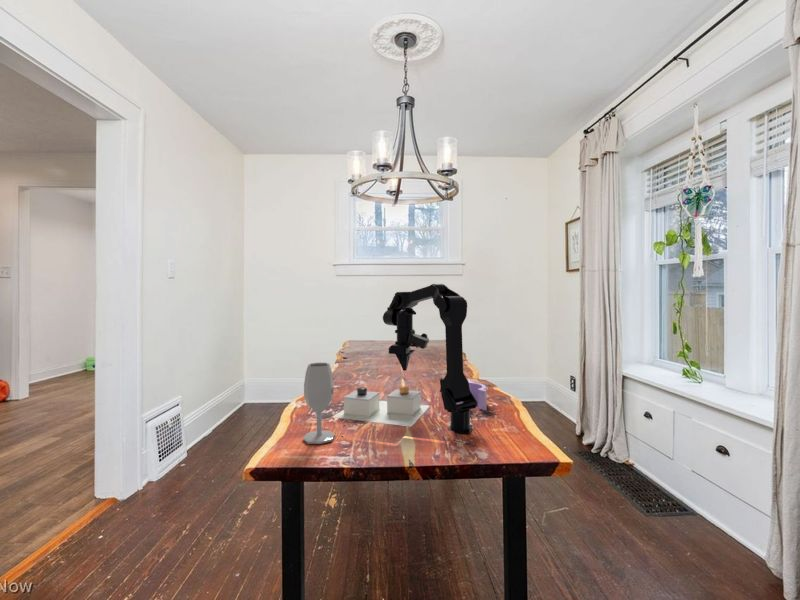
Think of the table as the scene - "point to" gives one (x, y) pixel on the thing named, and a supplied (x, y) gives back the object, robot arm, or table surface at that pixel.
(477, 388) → the clip
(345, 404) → the white square block
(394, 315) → the robot arm
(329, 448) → the table surface
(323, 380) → the wineglass
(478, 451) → the table surface
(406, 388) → the plunger
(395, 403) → the white square box
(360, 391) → the plunger
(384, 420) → the board
